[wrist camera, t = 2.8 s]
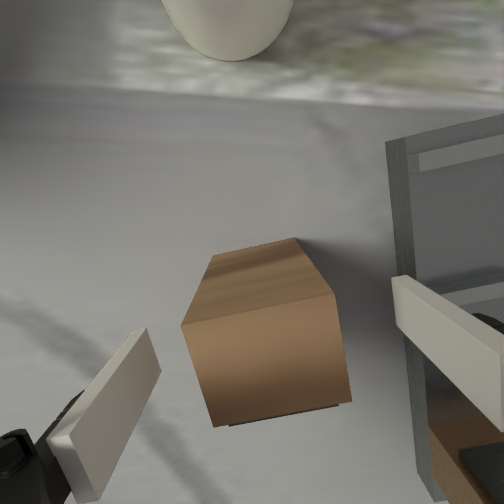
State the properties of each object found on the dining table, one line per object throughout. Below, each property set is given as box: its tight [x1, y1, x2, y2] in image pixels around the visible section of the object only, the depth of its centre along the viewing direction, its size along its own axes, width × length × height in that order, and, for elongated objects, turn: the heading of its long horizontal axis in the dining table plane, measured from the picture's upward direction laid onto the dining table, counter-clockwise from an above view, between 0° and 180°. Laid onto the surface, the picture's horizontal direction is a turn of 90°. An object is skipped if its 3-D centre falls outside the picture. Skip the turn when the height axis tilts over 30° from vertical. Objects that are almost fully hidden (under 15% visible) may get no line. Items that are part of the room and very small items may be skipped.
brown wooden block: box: [181, 238, 352, 427], centre depth 16 cm, size 6×6×10 cm
